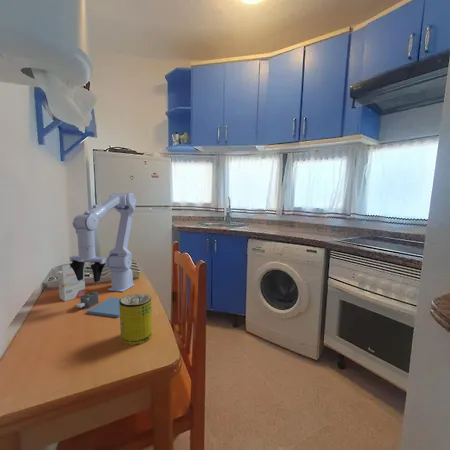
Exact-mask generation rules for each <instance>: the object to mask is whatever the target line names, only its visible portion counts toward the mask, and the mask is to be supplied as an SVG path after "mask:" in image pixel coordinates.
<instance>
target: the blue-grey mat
mask: <svg viewBox="0 0 450 450" xmlns="http://www.w3.org/2000/svg"><path fill="white" fill-rule="evenodd" d="M120 299H121V298H118V297H108V298H107V299H106V300H104V301H102V302H100V303H97V304H96V305H94V306H92V307H90V308H89V309H87V311H86V314H88V315H96V316H101V317H102V316H103V317H111V318H117V319H118V318H119V319H120V306H119V301H120Z"/></svg>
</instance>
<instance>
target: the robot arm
mask: <svg viewBox="0 0 450 450" xmlns="http://www.w3.org/2000/svg"><path fill="white" fill-rule="evenodd" d="M136 204H137V198H136V195H135V194H134V193H133V192H128V193H127V192H113V193H111V194H109V198H107V200H105V201H103V203H102V204H93V205H92V207H91V208H90V209H87V210H85V211H84V213H83V214H77V215H76V216H75V217H74V218H73V221H72V227H73V228H74V229H75V233H76V235H77V250H78V255H71V256H69V262H71V263H69V264H70V266H71V267H70V269H71V268H72V269H73V270H74V272H75V274H76V277H77V280H78V281H80V280H82V279H83V269H84V268H85V263H88V264H89V263H91V265H90V268H91V271H92V274H93V282H94V283H97V282H100V280H101V276H102V273H103V270H104V268H105V266H106V267H108V268H109V271H110V272H111V273H110V275H111V279H110V280H111V287H109V288H107V291H113V292H118V293H119V292H121V293H122V292H125V291H127V290H129V289H130V288H132V287H134V286H135V283H134V279H133V278H134V277H133V269H131V267H132V264H133V259H132V256H133V255H132V254H133V253H132V252H131V251H130V250H129V249H128V247H129V240H130V235H131V230H132V223H133V217H134V213H135V209H136ZM113 208H114V209H115V210H116V211H117V212H118V213H119V214H120V217H119V223H118V229H117V235H116V240H115V244H114V248H112V249H111V250H110V251H109V252H108V256H107V258H106V257H101V256H97V254H96V243H95V240H96V238H95V229H97V228H98V223H99V222H100V221H102V220H103V219H104V218H106V216H107V215H108V213H107V212H108V211H110V210H112V209H113Z"/></svg>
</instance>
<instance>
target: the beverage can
mask: <svg viewBox="0 0 450 450" xmlns="http://www.w3.org/2000/svg"><path fill="white" fill-rule="evenodd" d="M119 306H120V317H119V323H120V325H119V327H120V340H121V343H122V344H123V345H126V346H139V345H143V344H144V343H147V342H149V341H150V340H151V339H152V338H153V319H152V318H153V317H152V312H153V311H152V297H151V295H149V294H147V293H133V294H127V295H125V296H122V297H121V298H120V301H119Z"/></svg>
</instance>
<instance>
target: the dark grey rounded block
mask: <svg viewBox="0 0 450 450" xmlns="http://www.w3.org/2000/svg"><path fill="white" fill-rule="evenodd" d="M79 299H80V302H79V303H77V304H76V305H75V306H76V308H80V310H89V309H91V308H93V307H95V306H96V305H98V304H99V292H98V291H92V292H89V293H87V294H86V295H85V296H81V297H79Z"/></svg>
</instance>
